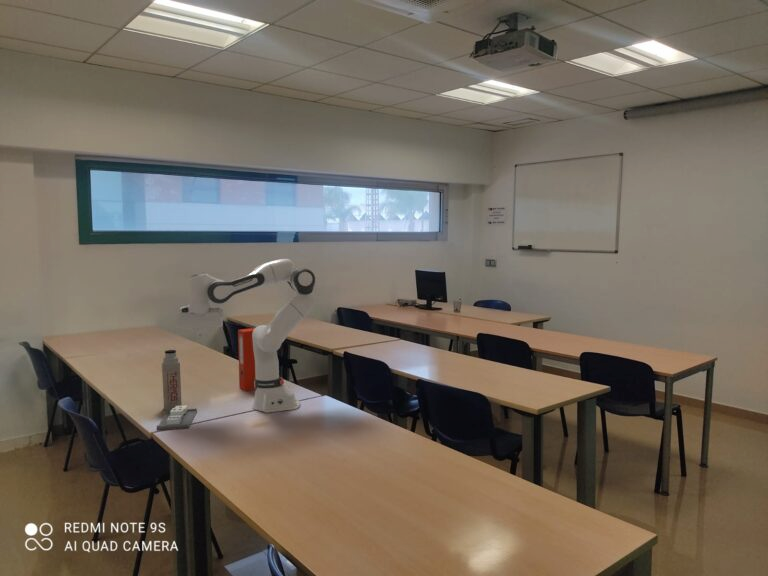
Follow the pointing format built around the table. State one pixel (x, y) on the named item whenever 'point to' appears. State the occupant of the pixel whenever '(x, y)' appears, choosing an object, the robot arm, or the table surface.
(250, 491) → the table surface
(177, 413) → the key two
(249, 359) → the file binder
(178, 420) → the key three
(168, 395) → the thermos bottle
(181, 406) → the key one
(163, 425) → the keypad board
